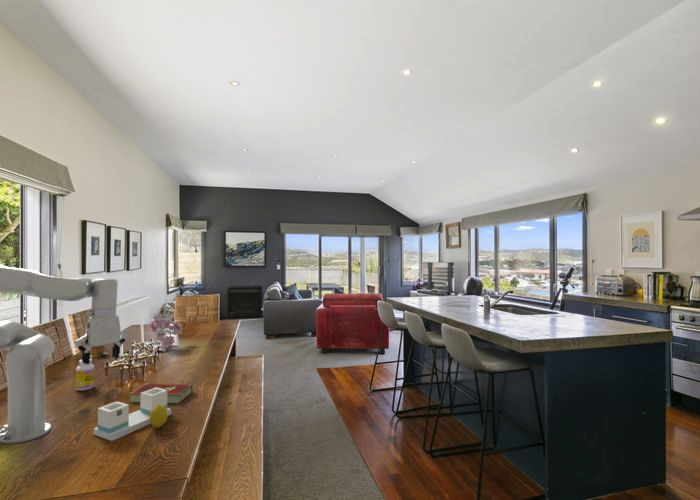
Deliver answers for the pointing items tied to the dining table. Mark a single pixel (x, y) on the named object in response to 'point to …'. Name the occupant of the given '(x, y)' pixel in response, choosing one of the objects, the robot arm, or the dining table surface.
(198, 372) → the dining table surface
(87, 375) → the supplement bottle
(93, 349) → the condiment
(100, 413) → the sleeve
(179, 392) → the hardcover book
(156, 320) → the flower
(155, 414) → the lemon
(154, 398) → the seated sleeve
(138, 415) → the pin board
